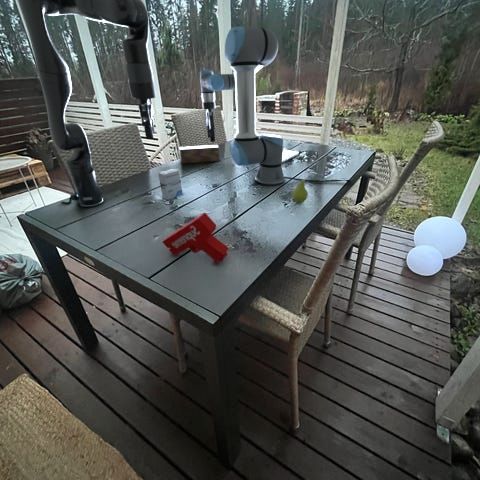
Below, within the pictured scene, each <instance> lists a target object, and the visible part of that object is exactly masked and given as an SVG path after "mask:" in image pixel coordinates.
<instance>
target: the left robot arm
mask: <svg viewBox="0 0 480 480" xmlns="http://www.w3.org/2000/svg"><path fill="white" fill-rule="evenodd" d="M17 2H18V6H19V9H20V11H21V14H22V17H23V21H24V24H25V26H26V30H27V33H28V36H29V40H30V43H31V47H32V53H33V55H34V56H33V57H34V61H35V65H36V71H37V74H38V78H39V82H40V85H41V90H42V93H43V98H44V102H45V107H46V113H47V118H48V120H47V121H48V128H49V133H50V137H51V140H52V142H53V145H54V146H55V147H56V148H57V149H58V150H59V151H61V152H67V151H71V150H72V153H71V154H70V155H69V156H68V157H67V158H66V159H65V165H66V167H67V171H68V173H69V176H70V178H71V181H72V182H71V186H72V189H73V193H70V195H69V199H68V200H69V201H61V202H60V203H61V204H62V205H63V204H64V205H70V204H71V203H72V201H73V202H76V201H77V202H78V205H80V206H81V207H83V208H93V207H96V206H99V205H102V204H103V203H104V198H103V195H102V193H101V188H100V186H99V183H98V179H97V176H96V173H95V169H94V166H93V163H92V154H91V150H90V147H89V141H88V138H87V134H86V132H85V130H84V129H83V127H82V126H81V125H80V124H79V123H76V122H70V123H66V121H65V113H66V108H67V105H68V103H69V100H70V97H71V94H72V90H73V86H72V85H73V84H72V78H71V73H70V68H69V66H68V64H67V61H66V60H65V58H64V56H63V55H62V53H61V52H60V51H59V49H58V48H57V46H56V44H55V42H54V41H53V40H52V38H51V36H50V34H49V30H48V27H47V24H46V19H45V16H50V17H55V16H63V15H77V16H81V17H82V18H85V19H87V20H91V21H95V22H100V23H107V24H111V25H116V26H119V27H125V28H128V37H127V38H124V39H123V40H122V41H121V46H122V52H123V56H124V57H123V58H124V63H125V69H126V77H127V81H128V87H129V92H130V97H131V98H132V99H133V100H139V103H138V110H139V113H140V114H139V115H140V119H141V125H142V127H143V128H144V129H143V130H144V133H145V139H147V140H153V139H154V134H155V132H156V131H155V125H154V118H155V117H154V107H153V104H152V100H151V99H155V98H156V97H157V93H156V92H157V91H156V86H155V80H154V74H153V73H154V72H153V69H152V66H151V60H150V53H149V49H148V47H149V46H148V45H149V30H150V29H149V27H150V25H149V24H150V22H149V21H150V20H149V13H148V10H147V7H146V5H145V3H144V2H143V0H17Z"/></svg>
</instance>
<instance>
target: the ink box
mask: <svg viewBox="0 0 480 480" xmlns="http://www.w3.org/2000/svg"><path fill="white" fill-rule="evenodd" d="M157 175H158V180H159V186H160V191H161V197H162V198H164V199H165V200H171V199H174V198H176V197H180V196H182V195H183V194H184V193H183V187H182V179H181V171H180V170H179V169H176V168H172V169H168V170H164V171H160V172H158V173H157Z"/></svg>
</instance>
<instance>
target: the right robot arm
mask: <svg viewBox="0 0 480 480" xmlns="http://www.w3.org/2000/svg"><path fill="white" fill-rule="evenodd" d="M278 51H279V41H278V38H277V36H276V35H275V33H274V32H273V31H272V30H271V29H269V28H266V27H255V26H245V25H244V26H243V25H242V26H233V27H231V28H230V29H229V31H228V32H227V34H226V37H225V42H224V56H225V60H226V61H227V62H228V63H230V69H231V70H232V71H233V72H232V73H214V71H213V70H209V69H208V70H206V69H205V70H200V71H199V80H200V90H201V95H200V97H201V101H202V102H201V103H202V109H203V110H205V118H206V123H205V124H206V131H207V133H206V134H207V138H208V139H209V140H210V143H214V142H216V135H215V134H216V133H215V130H216V128H215V120H214V119H215V118H214V111H213V110H215V109H216V93H215V92H218V91H234V90H235V108H236V109H235V110H236V133H235V135H234V136H233V140H232V141H231V142H230V145H229V152H230V155H231V158H232V161H233V162H234V164H236V165H237V166H238V167H242V166H245V167H247V166H251V165H255V164H258V167H257V169H256V171H255V172H256V174H255V177H254V181H255V183H258V184H259V185H262V186H263V185H264V186H279V185H281V184H283V183H284V181H285V179H287V180H292V181H293V180H294V181H300V182H301V181H302V180H305V179H306V178H298V177H297V178H296V177H291V176H290V177H289V176H285V175H284V172H283V171H284V170H283V167H282V165H283V163H282V154H283V146H284V138H283V137H282V136H281V135H278V134H272V133H260V134H258V132H257V131H256V129H257V127H256V126H257V125H256V73H258V72H259V71H260V70H261V69H262V68H263V67H267V66H269V65H270V64H271V63H273V61H274V60H275V58H276V57H277V56H278V55H277V54H278ZM319 180H320V179H306V180H305V182H312V183H313V182H314V183H330V182H331V183H332V182H334V183H335V182H336V183H337V182H341V181H343V180H338V179H324V180H325V181H319ZM345 181H346V182H347V183H351V181H350V179H348V180H345Z"/></svg>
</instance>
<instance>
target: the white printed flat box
mask: <svg viewBox="0 0 480 480" xmlns="http://www.w3.org/2000/svg"><path fill="white" fill-rule="evenodd" d="M299 154H300V152H299V151H296V150H295V151H293V150H288V149H287V148H286V147H285V146H284V145H283V154H282V164H283V163H285V162H286V161H289V160H291V159H293V158H295V157H296V156H299Z"/></svg>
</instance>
